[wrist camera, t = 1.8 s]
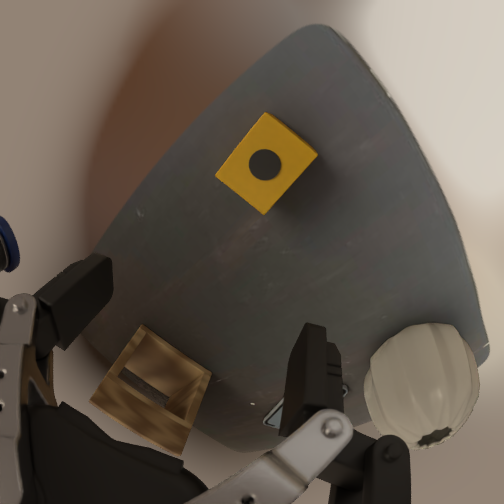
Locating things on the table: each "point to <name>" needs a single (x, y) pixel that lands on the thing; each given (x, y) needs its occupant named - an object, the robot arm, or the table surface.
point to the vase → (422, 385)
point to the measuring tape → (266, 163)
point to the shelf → (163, 379)
